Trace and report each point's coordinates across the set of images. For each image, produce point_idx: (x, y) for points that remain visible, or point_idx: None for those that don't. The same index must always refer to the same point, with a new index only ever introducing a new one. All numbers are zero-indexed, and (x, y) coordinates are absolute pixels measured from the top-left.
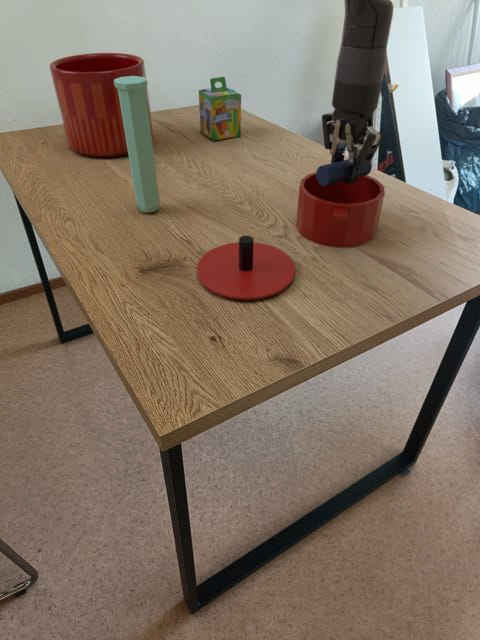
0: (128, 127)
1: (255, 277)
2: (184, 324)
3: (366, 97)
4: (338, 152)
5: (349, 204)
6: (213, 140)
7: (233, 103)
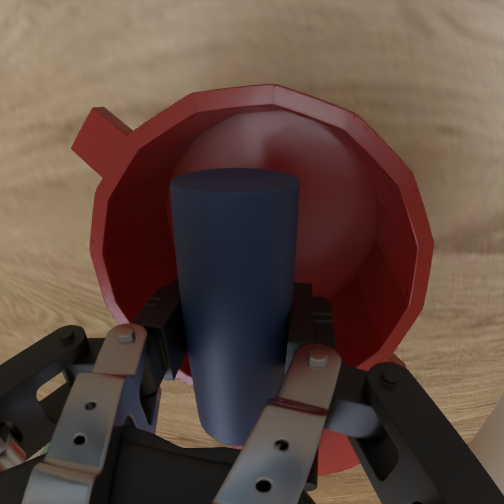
0: None
1: (338, 445)
2: (342, 488)
3: None
4: (155, 377)
5: (383, 355)
6: None
7: None
